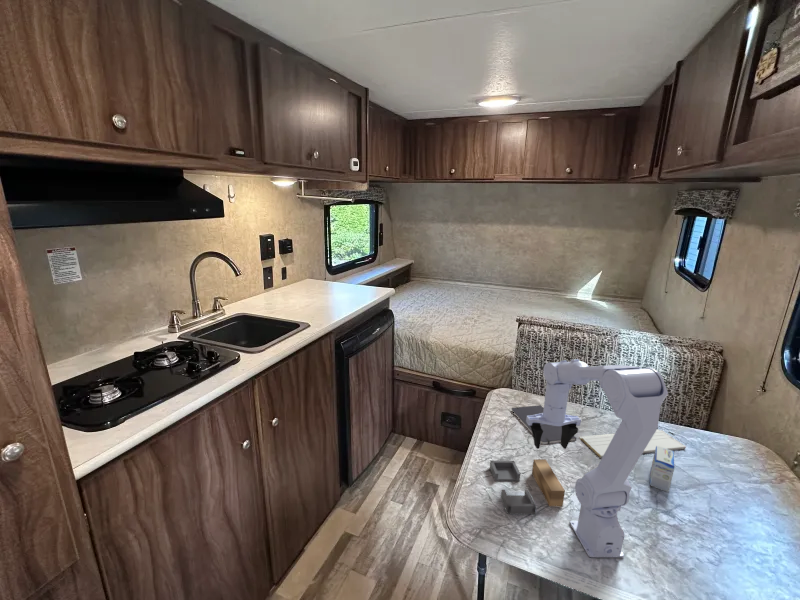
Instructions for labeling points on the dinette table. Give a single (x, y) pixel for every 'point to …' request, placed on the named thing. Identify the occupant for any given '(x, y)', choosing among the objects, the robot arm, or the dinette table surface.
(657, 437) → the baseboard molding
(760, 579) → the dinette table surface
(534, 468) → the brown wooden block
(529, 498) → the end caps
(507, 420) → the dinette table surface
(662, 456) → the medicine box
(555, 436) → the notebook
